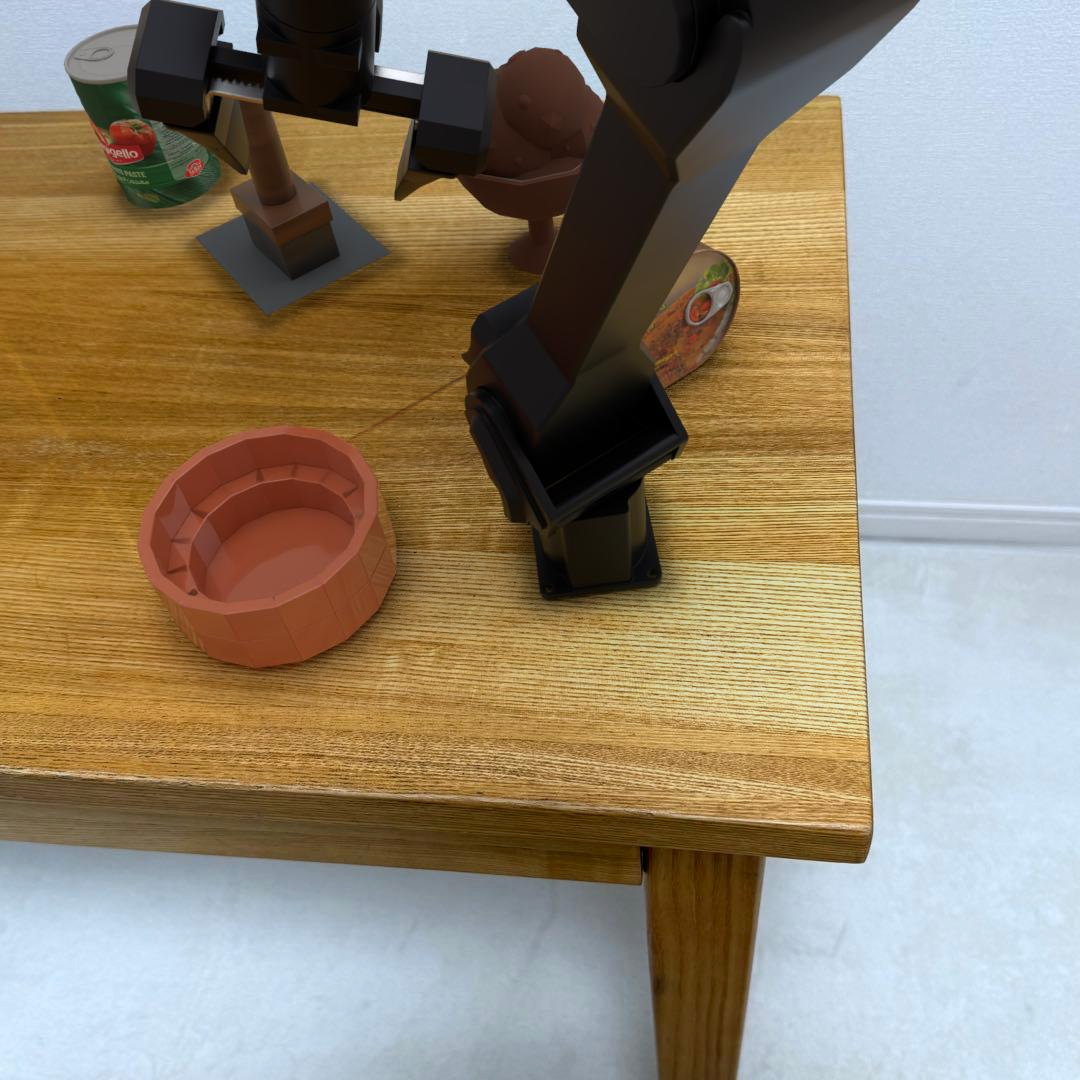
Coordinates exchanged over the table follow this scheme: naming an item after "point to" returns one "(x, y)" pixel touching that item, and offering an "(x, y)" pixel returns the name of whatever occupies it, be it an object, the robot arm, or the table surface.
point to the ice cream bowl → (536, 148)
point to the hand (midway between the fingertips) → (322, 181)
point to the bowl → (269, 545)
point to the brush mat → (272, 283)
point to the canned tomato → (135, 128)
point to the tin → (694, 314)
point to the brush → (281, 202)
